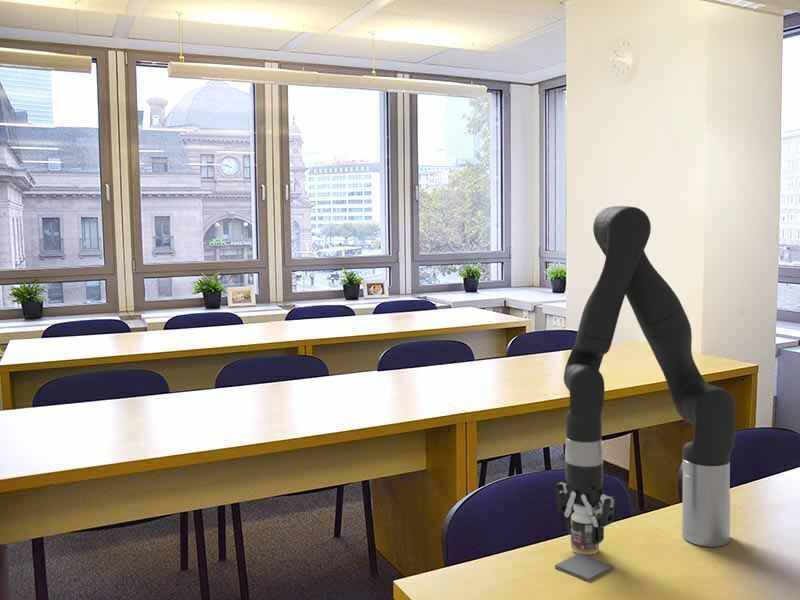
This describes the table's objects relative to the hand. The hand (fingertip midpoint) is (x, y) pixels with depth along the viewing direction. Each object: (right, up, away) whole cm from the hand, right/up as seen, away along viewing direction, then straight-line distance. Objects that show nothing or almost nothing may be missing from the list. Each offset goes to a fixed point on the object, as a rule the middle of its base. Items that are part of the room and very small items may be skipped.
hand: (584, 538), depth 154 cm
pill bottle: (0, -3, 0) cm, 3 cm away
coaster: (-2, -3, -8) cm, 9 cm away
